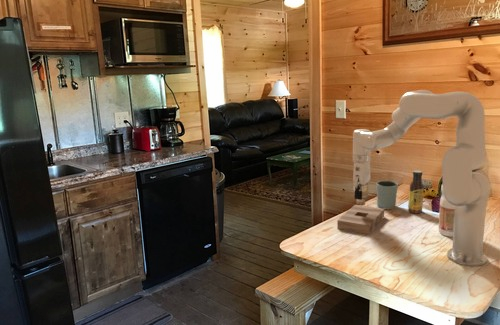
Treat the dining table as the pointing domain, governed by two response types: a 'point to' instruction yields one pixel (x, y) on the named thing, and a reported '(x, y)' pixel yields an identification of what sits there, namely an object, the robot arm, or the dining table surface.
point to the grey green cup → (386, 194)
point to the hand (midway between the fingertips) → (360, 196)
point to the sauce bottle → (416, 193)
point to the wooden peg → (364, 194)
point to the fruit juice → (446, 216)
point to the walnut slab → (360, 219)
